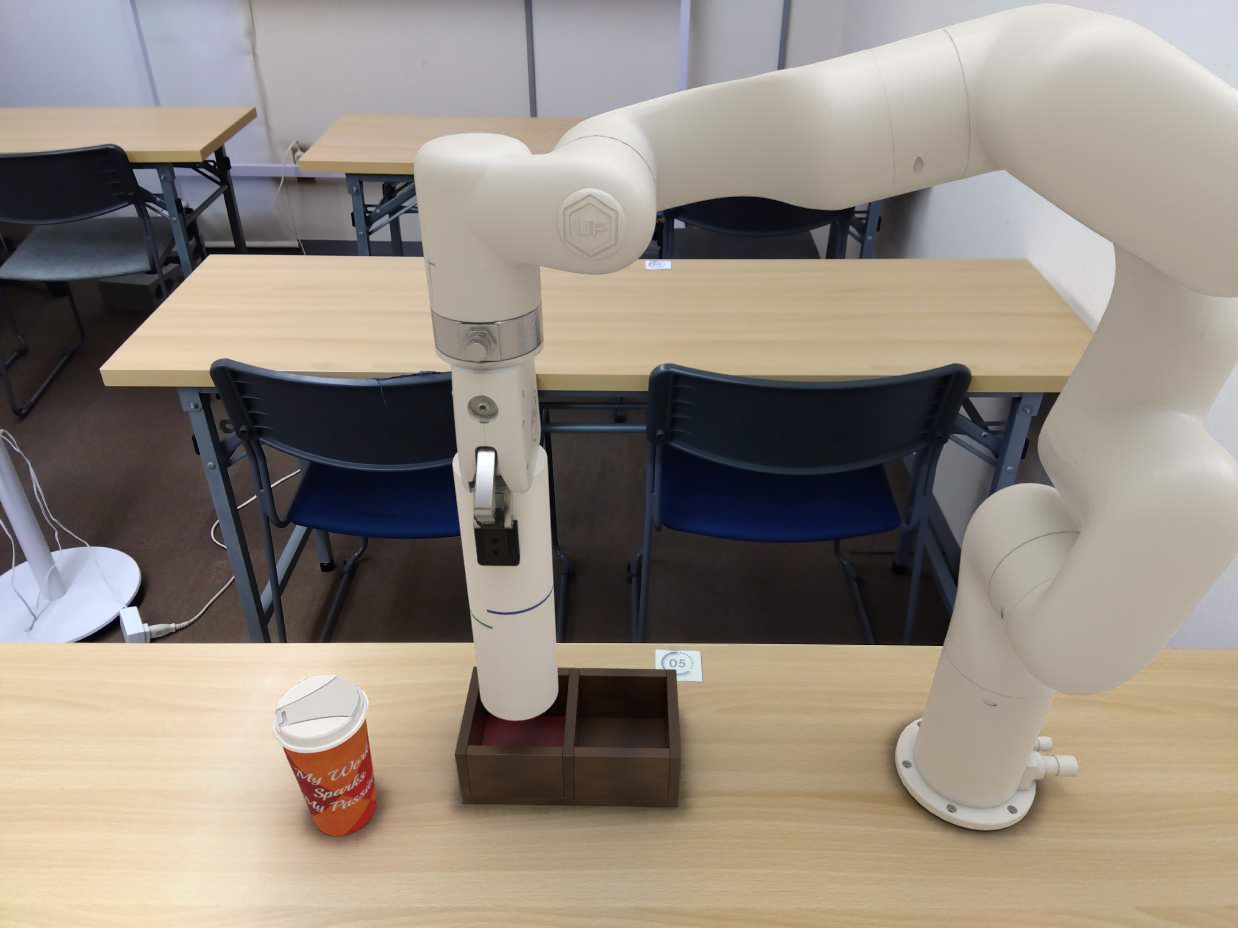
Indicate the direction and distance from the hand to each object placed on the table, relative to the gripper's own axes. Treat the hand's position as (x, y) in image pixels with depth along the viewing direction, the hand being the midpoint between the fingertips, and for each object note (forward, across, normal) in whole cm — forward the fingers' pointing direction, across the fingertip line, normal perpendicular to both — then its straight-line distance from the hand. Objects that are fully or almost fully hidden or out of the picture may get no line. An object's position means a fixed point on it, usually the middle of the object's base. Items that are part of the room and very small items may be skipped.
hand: (505, 530), depth 68 cm
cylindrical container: (+18, 0, 0) cm, 18 cm away
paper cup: (+28, -6, +16) cm, 33 cm away
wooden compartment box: (+28, 0, -5) cm, 28 cm away
